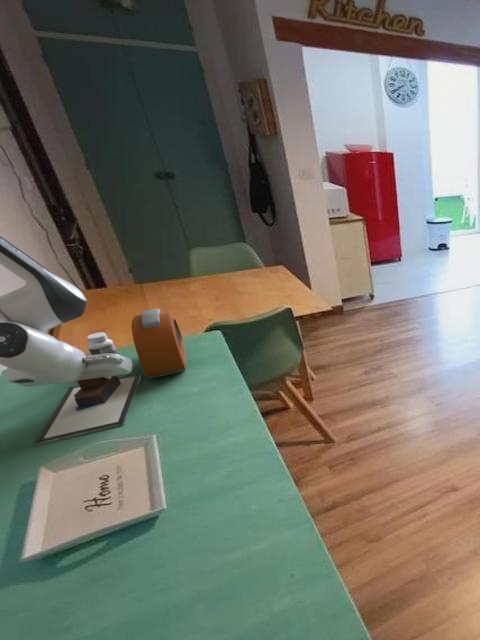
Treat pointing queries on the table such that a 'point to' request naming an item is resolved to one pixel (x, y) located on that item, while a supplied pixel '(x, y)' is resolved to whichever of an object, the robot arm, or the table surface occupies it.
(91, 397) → the eraser
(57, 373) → the robot arm
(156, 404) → the table surface
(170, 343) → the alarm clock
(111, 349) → the pill bottle
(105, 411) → the whiteboard
